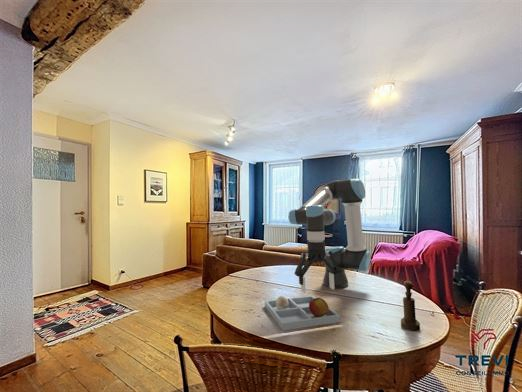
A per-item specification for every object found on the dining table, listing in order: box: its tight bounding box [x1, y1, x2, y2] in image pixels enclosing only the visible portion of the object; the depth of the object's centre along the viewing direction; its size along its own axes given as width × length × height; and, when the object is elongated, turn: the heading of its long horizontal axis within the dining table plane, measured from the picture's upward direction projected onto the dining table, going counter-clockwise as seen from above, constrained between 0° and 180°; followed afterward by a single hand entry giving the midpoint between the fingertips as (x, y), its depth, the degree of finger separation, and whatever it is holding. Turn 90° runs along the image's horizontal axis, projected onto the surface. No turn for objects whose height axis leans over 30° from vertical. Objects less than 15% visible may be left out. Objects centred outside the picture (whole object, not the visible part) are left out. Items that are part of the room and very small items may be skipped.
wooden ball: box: [275, 295, 289, 310], centre depth 116 cm, size 6×6×6 cm
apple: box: [309, 297, 330, 317], centre depth 107 cm, size 8×8×8 cm
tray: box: [264, 295, 341, 333], centre depth 111 cm, size 25×25×4 cm
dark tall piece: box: [400, 280, 421, 332], centre depth 99 cm, size 7×6×18 cm
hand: (317, 290), depth 108 cm, fingers open, 13 cm apart
